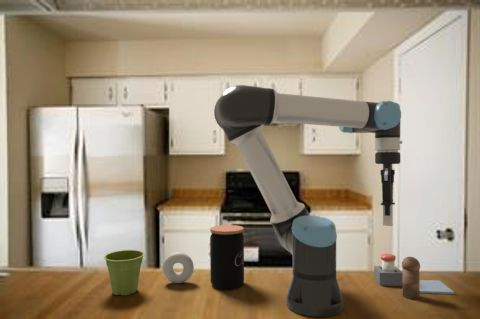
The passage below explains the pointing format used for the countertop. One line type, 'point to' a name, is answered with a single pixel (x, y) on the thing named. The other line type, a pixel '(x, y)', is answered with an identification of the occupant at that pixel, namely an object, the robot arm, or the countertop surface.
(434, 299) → the countertop surface
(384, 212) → the robot arm
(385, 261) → the button plunger
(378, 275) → the button collar
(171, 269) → the donut
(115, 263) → the plant pot
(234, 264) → the coffee jar
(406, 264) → the brown domed cylinder
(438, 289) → the tile
